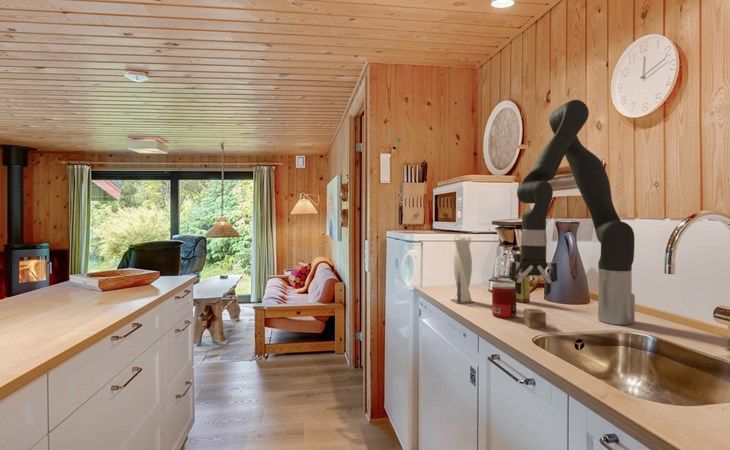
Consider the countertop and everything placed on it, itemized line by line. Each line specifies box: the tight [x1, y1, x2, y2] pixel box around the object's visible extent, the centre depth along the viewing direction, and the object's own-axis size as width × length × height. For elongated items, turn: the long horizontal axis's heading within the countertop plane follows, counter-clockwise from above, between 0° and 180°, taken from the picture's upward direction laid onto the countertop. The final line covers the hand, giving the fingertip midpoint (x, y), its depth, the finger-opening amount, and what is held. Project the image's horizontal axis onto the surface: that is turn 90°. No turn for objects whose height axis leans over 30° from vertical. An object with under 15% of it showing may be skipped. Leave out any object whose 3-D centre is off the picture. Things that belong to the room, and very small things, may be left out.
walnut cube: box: [523, 308, 547, 329], centre depth 123 cm, size 5×5×5 cm
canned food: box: [491, 282, 517, 320], centre depth 135 cm, size 8×8×11 cm
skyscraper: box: [449, 233, 475, 305], centre depth 159 cm, size 8×8×28 cm
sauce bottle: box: [512, 252, 531, 304], centre depth 158 cm, size 7×6×20 cm
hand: (532, 294), depth 123 cm, fingers open, 8 cm apart
